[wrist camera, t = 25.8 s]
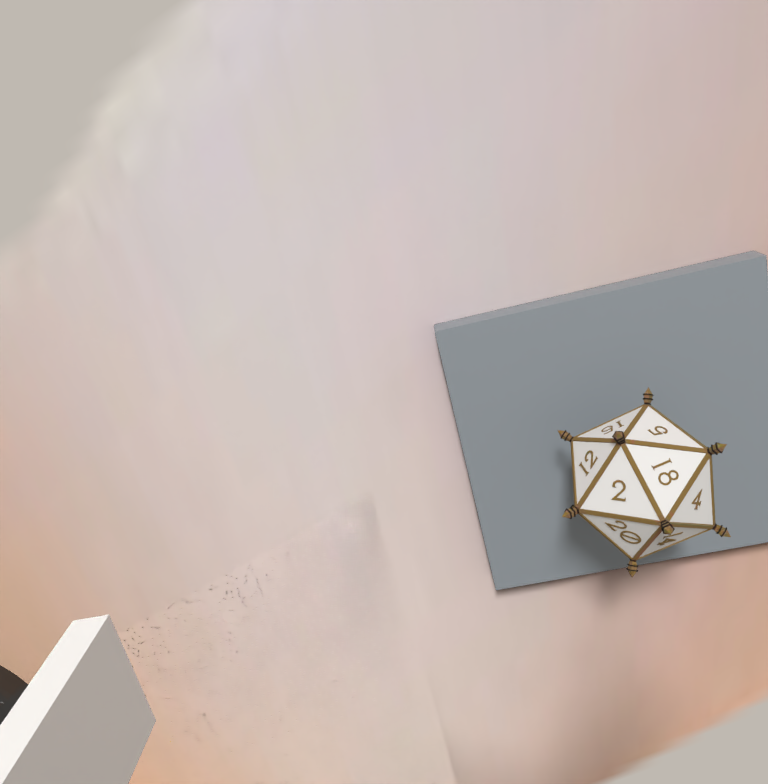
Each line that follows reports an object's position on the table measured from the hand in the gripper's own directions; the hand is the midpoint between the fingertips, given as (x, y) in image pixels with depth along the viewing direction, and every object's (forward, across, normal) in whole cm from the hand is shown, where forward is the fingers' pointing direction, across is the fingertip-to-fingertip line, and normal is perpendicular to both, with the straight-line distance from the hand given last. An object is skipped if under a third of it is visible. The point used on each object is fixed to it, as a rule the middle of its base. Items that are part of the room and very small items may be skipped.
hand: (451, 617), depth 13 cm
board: (+29, +9, -11) cm, 32 cm away
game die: (+27, +9, -11) cm, 31 cm away
